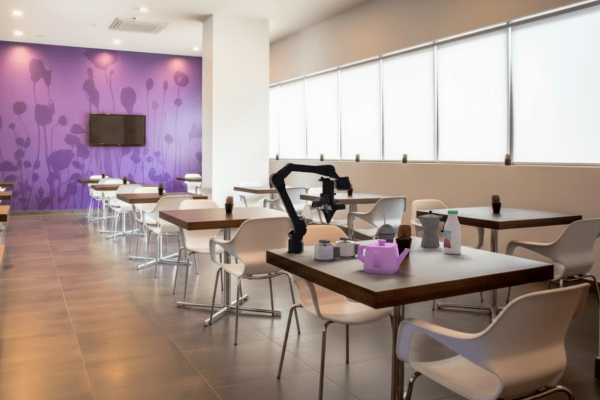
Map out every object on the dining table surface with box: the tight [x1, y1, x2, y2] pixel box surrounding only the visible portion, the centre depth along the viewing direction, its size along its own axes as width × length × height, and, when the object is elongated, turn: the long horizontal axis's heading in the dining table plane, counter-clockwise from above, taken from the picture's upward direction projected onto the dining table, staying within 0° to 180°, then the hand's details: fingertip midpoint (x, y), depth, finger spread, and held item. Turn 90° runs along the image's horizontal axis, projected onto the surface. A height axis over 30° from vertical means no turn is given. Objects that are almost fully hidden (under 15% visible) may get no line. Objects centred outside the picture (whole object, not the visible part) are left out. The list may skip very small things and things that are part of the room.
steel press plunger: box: [318, 239, 331, 245], centre depth 250 cm, size 5×5×6 cm
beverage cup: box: [377, 213, 396, 243], centre depth 249 cm, size 7×7×20 cm
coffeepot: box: [416, 210, 448, 249], centre depth 283 cm, size 15×9×18 cm, turn 70°
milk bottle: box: [443, 209, 462, 255], centre depth 264 cm, size 8×8×20 cm
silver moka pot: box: [313, 243, 341, 262], centre depth 250 cm, size 12×9×6 cm
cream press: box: [334, 240, 361, 259], centre depth 257 cm, size 12×9×6 cm
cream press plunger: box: [339, 236, 352, 243], centre depth 258 cm, size 5×5×6 cm
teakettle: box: [356, 239, 411, 275], centre depth 226 cm, size 17×17×12 cm
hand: (328, 223), depth 273 cm, fingers closed
